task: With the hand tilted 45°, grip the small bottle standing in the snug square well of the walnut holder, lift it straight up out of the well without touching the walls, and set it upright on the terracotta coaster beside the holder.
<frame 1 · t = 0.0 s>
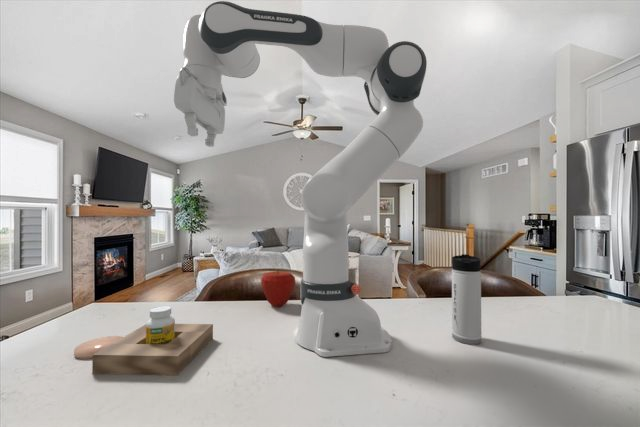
hand: (201, 141, 70), 48 cm above the countertop, tool pointing down, fingers open, 8 cm apart
apple: (278, 306, 95), on the countertop
walnut holder: (160, 354, 60), on the countertop
travel mug: (466, 339, 68), on the countertop
supplement bottle: (160, 355, 60), resting in walnut holder
coaster: (100, 348, 63), on the countertop
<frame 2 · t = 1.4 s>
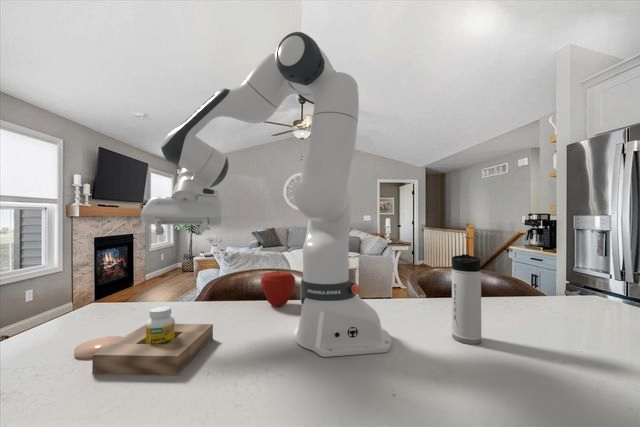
hand: (178, 233, 73), 25 cm above the countertop, tool tilted 45°, fingers open, 8 cm apart
nothing on the countertop moved.
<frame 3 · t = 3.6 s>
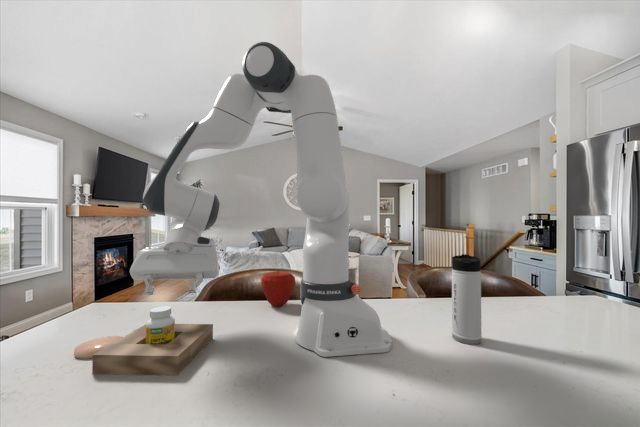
hand: (170, 292, 67), 11 cm above the countertop, tool tilted 45°, fingers open, 8 cm apart
nothing on the countertop moved.
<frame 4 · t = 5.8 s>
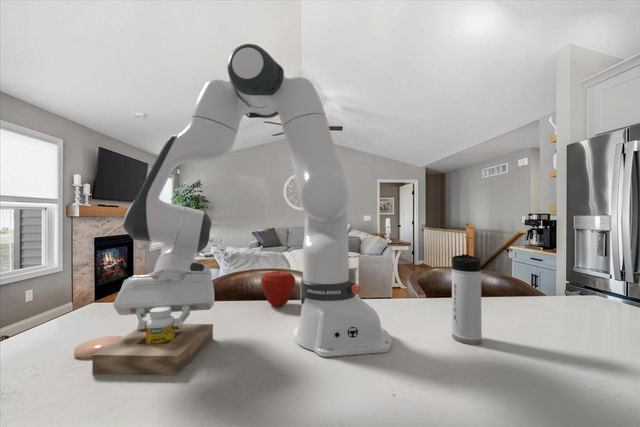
hand: (159, 329, 60), 5 cm above the countertop, tool tilted 45°, fingers closed on supplement bottle, 5 cm apart
supplement bottle: (160, 355, 60), resting in walnut holder, touching gripper
everything else where it was.
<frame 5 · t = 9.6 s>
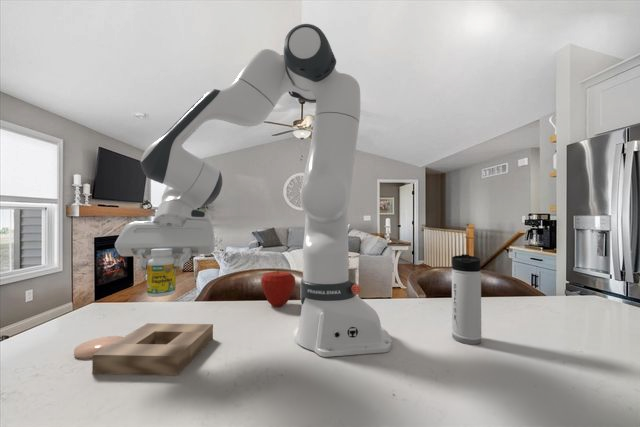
hand: (160, 268, 60), 18 cm above the countertop, tool tilted 45°, fingers closed on supplement bottle, 5 cm apart
supplement bottle: (161, 294, 61), point 12 cm above the countertop, touching gripper
everything else where it was.
when the fingers open (8 cm above the countertop, at t = 13.6 s): supplement bottle stays where it is, resting on coaster.
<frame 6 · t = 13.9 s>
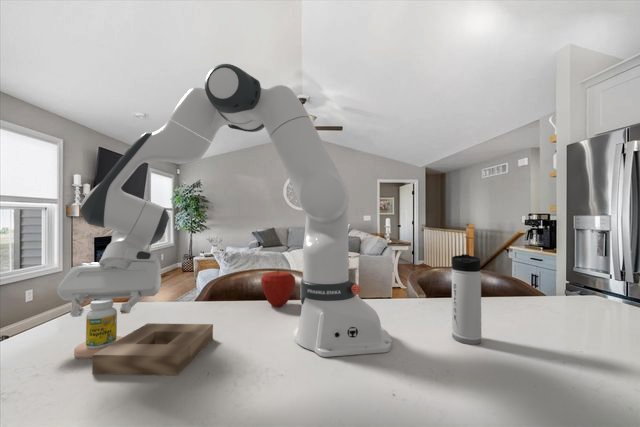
hand: (100, 314, 62), 8 cm above the countertop, tool tilted 45°, fingers open, 8 cm apart
supplement bottle: (101, 345, 63), point 1 cm above the countertop, touching coaster
everything else where it was.
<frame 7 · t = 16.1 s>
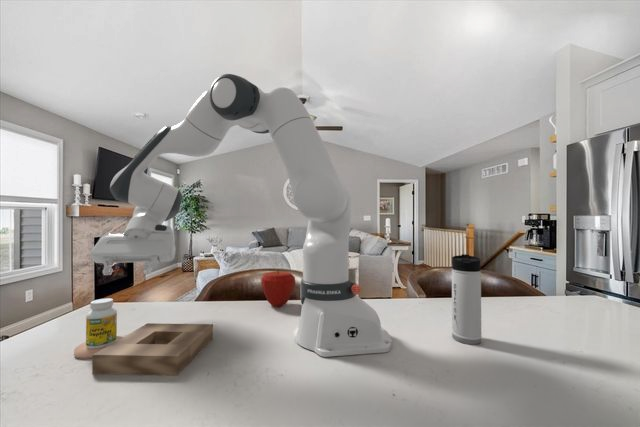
hand: (126, 273, 75), 14 cm above the countertop, tool tilted 45°, fingers open, 8 cm apart
nothing on the countertop moved.
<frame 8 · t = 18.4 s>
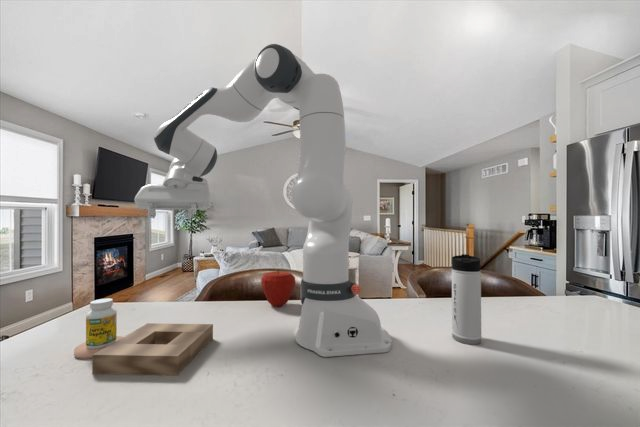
hand: (169, 216, 80), 29 cm above the countertop, tool tilted 45°, fingers open, 8 cm apart
nothing on the countertop moved.
at the end: supplement bottle 0.1 cm off-centre on the coaster, point 0.8 cm above the coaster's base; supplement bottle tilted 0°; the gripper is holding nothing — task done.
